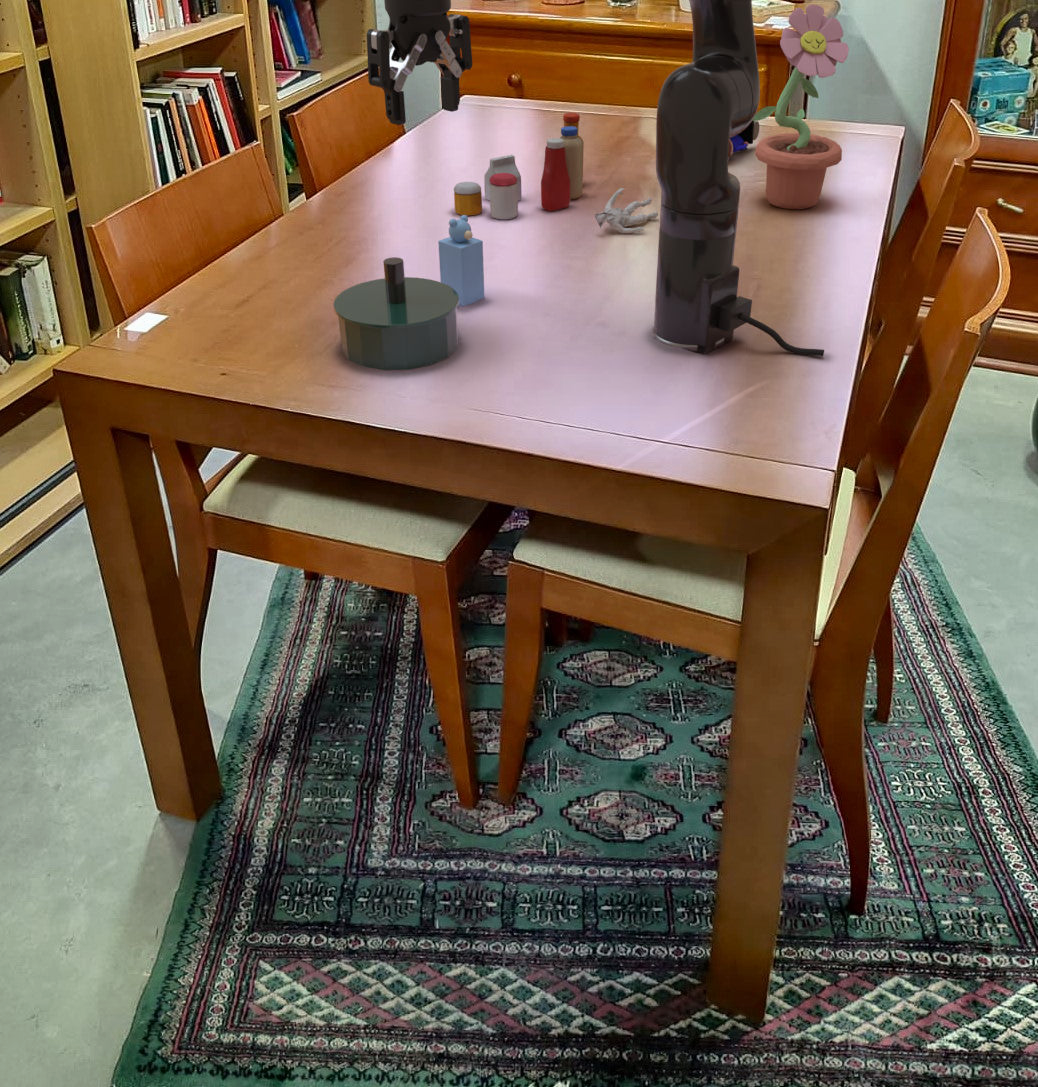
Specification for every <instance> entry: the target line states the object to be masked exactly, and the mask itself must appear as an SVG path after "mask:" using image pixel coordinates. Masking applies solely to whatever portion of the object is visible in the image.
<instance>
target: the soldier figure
mask: <svg viewBox="0 0 1038 1087" xmlns="http://www.w3.org/2000/svg"><path fill="white" fill-rule="evenodd" d="M624 190H626V188H625V187H621V188H619V189H617V191H615V192H614V193H613V195H612V196H611V197H610V199H608V201H607V203H606V205H605V207H604V209H603V211H602V212H600V213H594V214H593V216H594V218H595V219H596V220H595V221H596V222H597V224H598V226H599V228H600V229H601V228H602V226H603V225H604V224H605V223H607V224H608V225H609V227H611V229H613V230H615V231H617V232H619V233H620V234H635V233H638V234H639V233H641V232H644V231H645V228H643V226H638V227H635V228H633V227H631V226H635V225H637V224H639V223H646V222H647V220H651V219H656V218H657V217H658V216H659V212H658V211H654V212H652V213H648V214H644V213H640V214H636V215H633V213H634V212H635V210H638V209H639V208H640V207H641V208H645V207H646V206H649V205H651V203H652V198H651V197H649V198H647V199H645V200H643V201H637V200H634V201H633V202H631V203H629V204H628V205H627V206H626V207H625V208H624V209H622V208H621V207H613V206H614V205H615V202H616V200H617V198H618V195H623V194H624V192H622V191H624ZM629 227H630V228H629Z"/></svg>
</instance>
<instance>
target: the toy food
mask: <svg viewBox="0 0 1038 1087" xmlns="http://www.w3.org/2000/svg"><path fill="white" fill-rule="evenodd" d="M580 117H581V116H580V114H579V113H578V112H577V113H576V112H566V113H564V114H563V116H562V121H563V126H562V127H561V128H560V135H561V136H560V137H551V138H548V139H546V146H545V149H544V162H543V171H542V175H541V181H540V204H541V208H542V209H543V210H545V211H550V212H555V211H559V210H562V209H567V208H568V207H569V206H570V202H571V200H575V199H578V198H580V197H581V196H582V194H583V190H584V187H583V186H584V185H583V184H584V181H583V180H584V147H585V146H584V145H585V143H584V139H583V138H582V137H581V136H580V135H579V126H580V124H579V123H580V121H581V120H580V119H581V118H580ZM483 180H484V181H483V183H484V185H483V186H484V199H485V200H487V201H489V205H490V206H489V208H490V209H489V210H490V211H489V212H490V216H491V218H493V219H497V220H511V219H515V218H516V217H517V216H518V215H519V201H521V200H522V175H521V173H520V171H519V168H518V167H517V164H516V157H515V155H514V154H508V155H503V156H498V157H493V158H490V159H489V166H488V168H487V170H486V172H485V173H484V179H483ZM453 200H454V212H455V213H456V214H458V215H459V216H462V215H466V216H467V217H469V216H476V215H479V214H480V213H482V211H483V194H482V187H481V185H480V184H479V183H478V182H475V181H462V182H458V183H456V184H455V185H454V187H453Z"/></svg>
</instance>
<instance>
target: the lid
mask: <svg viewBox="0 0 1038 1087" xmlns="http://www.w3.org/2000/svg"><path fill="white" fill-rule="evenodd" d="M383 273H384V278H378V279H372V280H368V281H364V282H361V283H358V284H354V285H352V286H350V287H348V288H346V289H344V290H343V291H341V292H340V293H339V294H338V295H337V296H336V297H335V299H334V300H333V310H334V313H335V314H336V316H337V317H338V316H339V317H340V318H341V319H343V320H344V321H347V322H349V323H351V324H354V325H358V326H363V327H368V328H378V329H401V328H410V327H417V326H422V325H426V324H430V323H433V322H436V321H439V320H441V319H443V318H445V317H447V316H449V315H450V314H451V313H453V312H454V311H455V310H456V311H457V309H458V307H459V306H460V305H459V296H458V293H457V292H456V291H455V290H454V289H453V288H452V287H450V286H448V285H446V284H444V283H441V281H438V280H434V279H429V278H424V277H410V276H408V277H407V276H406V275H405V264H404V259H403V258H401V257H394V256H393V257H388V258H385V259H384V260H383Z"/></svg>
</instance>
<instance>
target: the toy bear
mask: <svg viewBox="0 0 1038 1087" xmlns="http://www.w3.org/2000/svg"><path fill="white" fill-rule="evenodd" d="M448 225H449V227H448V236H449V237H446V238H443V239H440V240H438V259H439V275H440V276H439V277H440V282H441V283H444V284H446V285H448V286H450V287H452V288H453V289H454V290H455V291H456V292H457V293H458V296H459V305H458V306H461V307H466V306H468V305H471V304H474V303H476V302H478V301H479V302H480V301H481V300H483V299H485V272H484V270H485V269H484V242H483V240H481V239H479V238H476V237H473V236H474V235H473V232H472V227H471V225H470V223H469V216H466V215H460V216H459V219H456V218H450V219H449V221H448Z"/></svg>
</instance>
